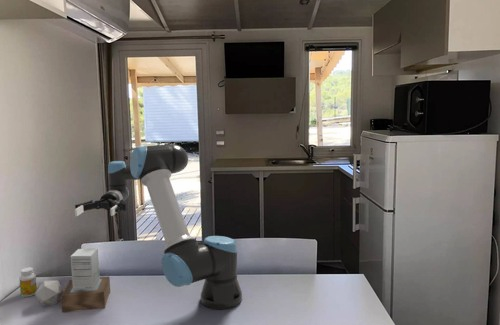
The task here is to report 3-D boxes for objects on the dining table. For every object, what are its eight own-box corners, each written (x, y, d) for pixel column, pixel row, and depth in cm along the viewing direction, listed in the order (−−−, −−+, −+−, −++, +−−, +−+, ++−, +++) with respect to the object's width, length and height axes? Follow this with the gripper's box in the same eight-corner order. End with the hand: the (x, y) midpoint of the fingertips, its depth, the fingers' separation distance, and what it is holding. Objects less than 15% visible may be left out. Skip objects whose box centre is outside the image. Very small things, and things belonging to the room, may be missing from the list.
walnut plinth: (110, 291, 149) (109, 276, 148) (104, 308, 137) (103, 291, 136) (71, 294, 146) (70, 279, 146) (62, 312, 134) (60, 295, 133)
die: (45, 312, 135) (62, 288, 137) (25, 299, 136) (42, 274, 138) (56, 309, 143) (72, 286, 145) (37, 296, 144) (53, 273, 146)
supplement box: (80, 281, 144) (77, 248, 143) (100, 280, 145) (98, 248, 143) (72, 290, 137) (69, 256, 135) (93, 289, 137) (91, 255, 136)
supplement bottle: (17, 296, 146) (15, 271, 144) (28, 289, 151) (26, 266, 150) (29, 297, 144) (27, 273, 143) (40, 291, 150) (38, 267, 148)
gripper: (140, 207, 171) (126, 221, 150) (83, 208, 170) (61, 222, 149) (139, 191, 170) (125, 202, 149) (82, 191, 169) (60, 203, 148)
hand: (93, 212), depth 149 cm, fingers open, 13 cm apart
